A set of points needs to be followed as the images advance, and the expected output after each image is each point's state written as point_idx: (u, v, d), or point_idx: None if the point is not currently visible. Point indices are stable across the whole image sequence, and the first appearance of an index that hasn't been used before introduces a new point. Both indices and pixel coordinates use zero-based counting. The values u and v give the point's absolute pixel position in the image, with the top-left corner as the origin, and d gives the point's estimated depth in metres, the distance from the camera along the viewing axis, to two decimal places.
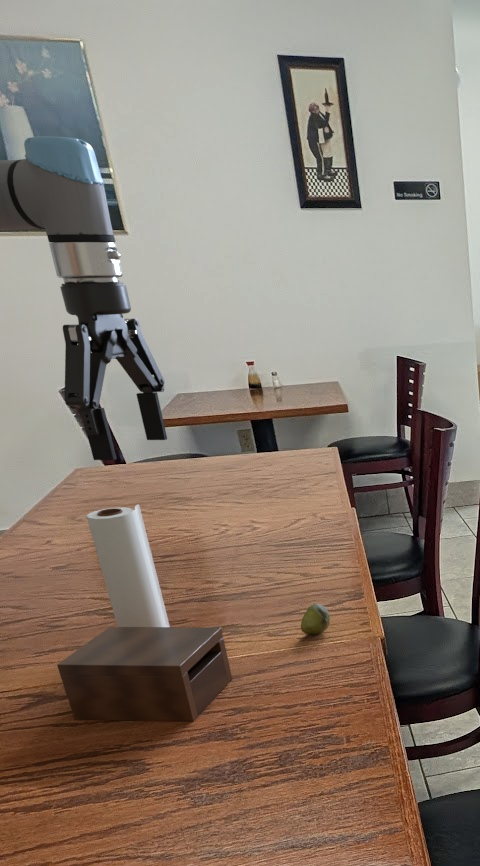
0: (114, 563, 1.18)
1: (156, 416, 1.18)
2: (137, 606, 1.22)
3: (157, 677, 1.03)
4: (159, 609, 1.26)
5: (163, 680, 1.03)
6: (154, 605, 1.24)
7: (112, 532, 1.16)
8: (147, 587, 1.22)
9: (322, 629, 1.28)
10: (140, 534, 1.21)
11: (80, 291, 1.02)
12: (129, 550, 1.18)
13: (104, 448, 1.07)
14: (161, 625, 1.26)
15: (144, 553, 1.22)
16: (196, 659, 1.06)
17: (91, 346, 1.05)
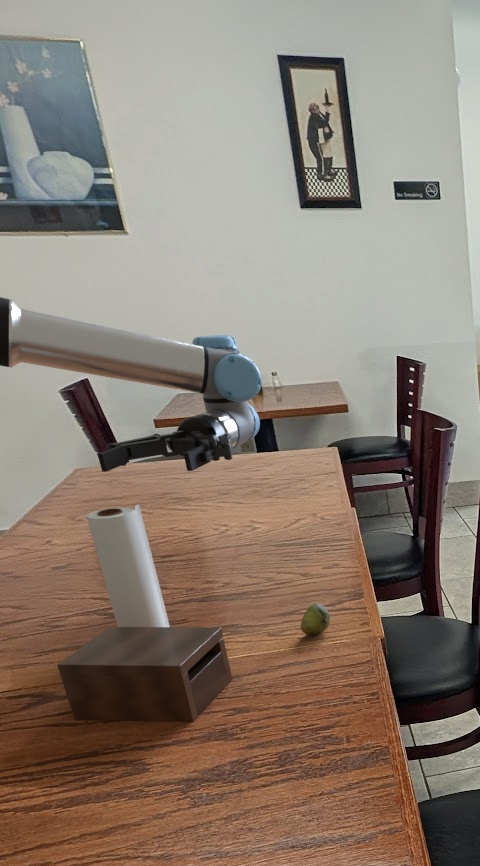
0: (114, 563, 1.18)
1: (117, 463, 1.29)
2: (137, 606, 1.22)
3: (157, 677, 1.03)
4: (159, 609, 1.26)
5: (163, 680, 1.03)
6: (154, 605, 1.24)
7: (112, 532, 1.16)
8: (147, 587, 1.22)
9: (322, 629, 1.28)
10: (140, 534, 1.21)
11: None
12: (129, 550, 1.18)
13: (195, 463, 1.26)
14: (161, 625, 1.26)
15: (144, 553, 1.22)
16: (196, 659, 1.06)
17: None
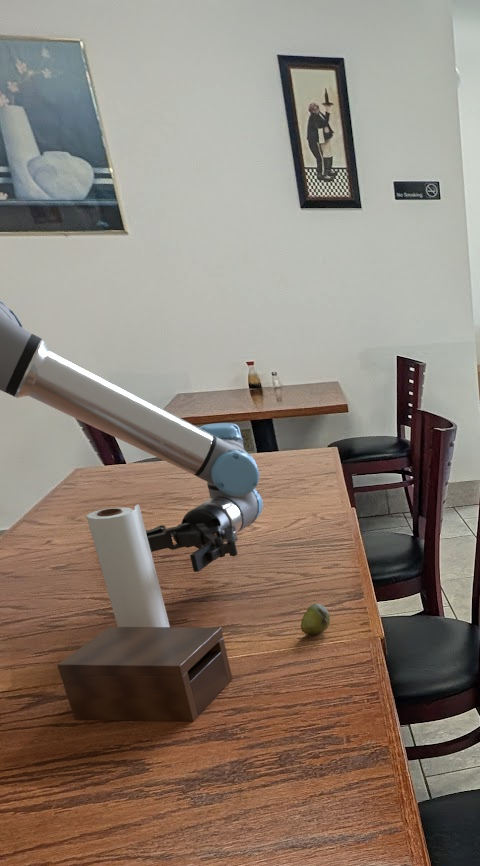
0: (114, 563, 1.18)
1: None
2: (137, 606, 1.22)
3: (157, 677, 1.03)
4: (159, 609, 1.26)
5: (163, 680, 1.03)
6: (154, 605, 1.24)
7: (112, 532, 1.16)
8: (147, 587, 1.22)
9: (322, 629, 1.28)
10: (140, 534, 1.21)
11: None
12: (129, 550, 1.18)
13: (201, 563, 1.29)
14: (161, 625, 1.26)
15: (144, 553, 1.22)
16: (196, 659, 1.06)
17: None
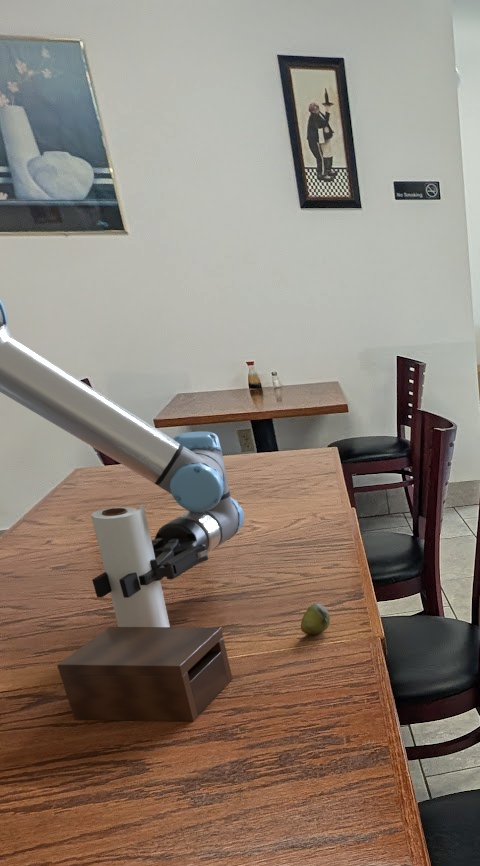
0: (117, 563, 1.18)
1: None
2: (138, 606, 1.21)
3: (157, 677, 1.03)
4: (160, 610, 1.26)
5: (163, 680, 1.03)
6: (155, 605, 1.24)
7: (116, 532, 1.16)
8: (149, 587, 1.22)
9: (322, 629, 1.28)
10: (144, 534, 1.21)
11: (206, 543, 1.37)
12: (133, 550, 1.18)
13: (132, 588, 1.19)
14: (162, 625, 1.26)
15: (147, 553, 1.22)
16: (196, 659, 1.06)
17: (183, 551, 1.31)
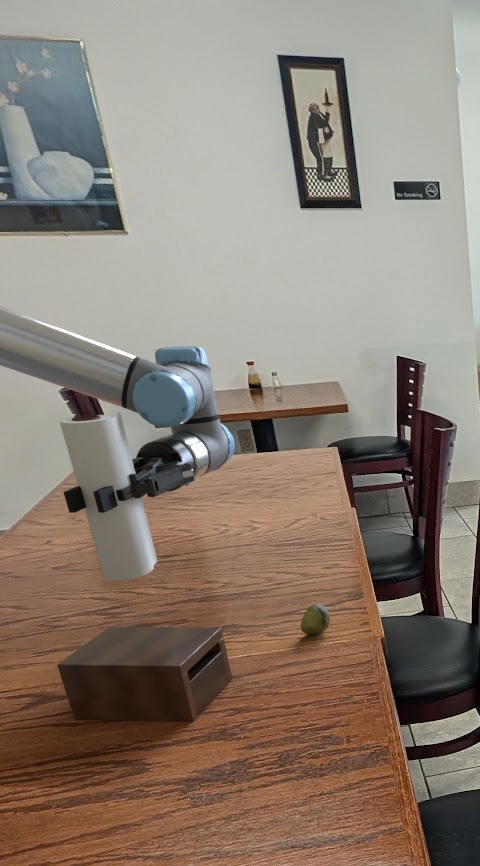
0: (91, 475, 1.05)
1: None
2: (117, 526, 1.09)
3: (157, 677, 1.03)
4: (142, 533, 1.13)
5: (163, 680, 1.03)
6: (136, 527, 1.11)
7: (88, 439, 1.03)
8: (129, 506, 1.09)
9: (322, 629, 1.28)
10: (121, 445, 1.08)
11: (193, 466, 1.24)
12: (107, 461, 1.05)
13: (108, 503, 1.06)
14: (145, 550, 1.13)
15: (125, 467, 1.09)
16: (196, 659, 1.06)
17: None
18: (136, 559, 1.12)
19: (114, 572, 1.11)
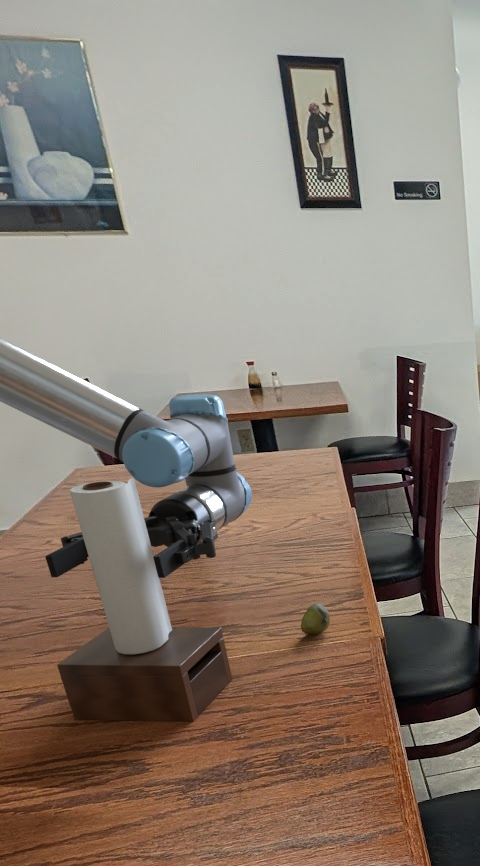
0: (102, 547, 0.99)
1: (72, 564, 1.04)
2: (130, 598, 1.02)
3: (157, 677, 1.03)
4: (157, 603, 1.06)
5: (163, 680, 1.03)
6: (150, 597, 1.05)
7: (100, 509, 0.97)
8: (142, 576, 1.03)
9: (322, 629, 1.28)
10: (134, 513, 1.01)
11: None
12: (120, 531, 0.99)
13: (168, 567, 1.01)
14: (160, 621, 1.07)
15: (139, 535, 1.02)
16: (196, 659, 1.06)
17: None
18: (150, 631, 1.05)
19: (126, 646, 1.04)
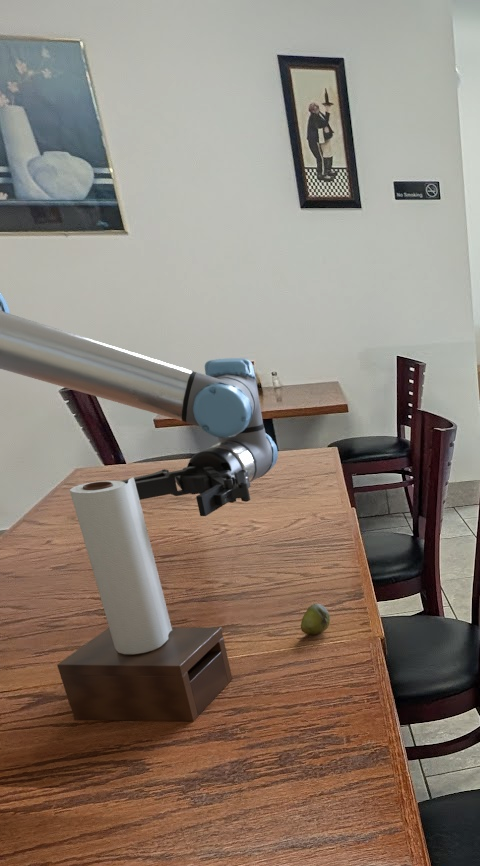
0: (102, 547, 0.99)
1: None
2: (130, 598, 1.02)
3: (157, 677, 1.03)
4: (157, 603, 1.06)
5: (163, 680, 1.03)
6: (150, 597, 1.05)
7: (100, 509, 0.97)
8: (142, 576, 1.03)
9: (322, 629, 1.28)
10: (134, 513, 1.01)
11: None
12: (120, 531, 0.99)
13: (209, 507, 1.12)
14: (160, 621, 1.07)
15: (139, 535, 1.02)
16: (196, 659, 1.06)
17: None
18: (150, 631, 1.05)
19: (126, 646, 1.04)
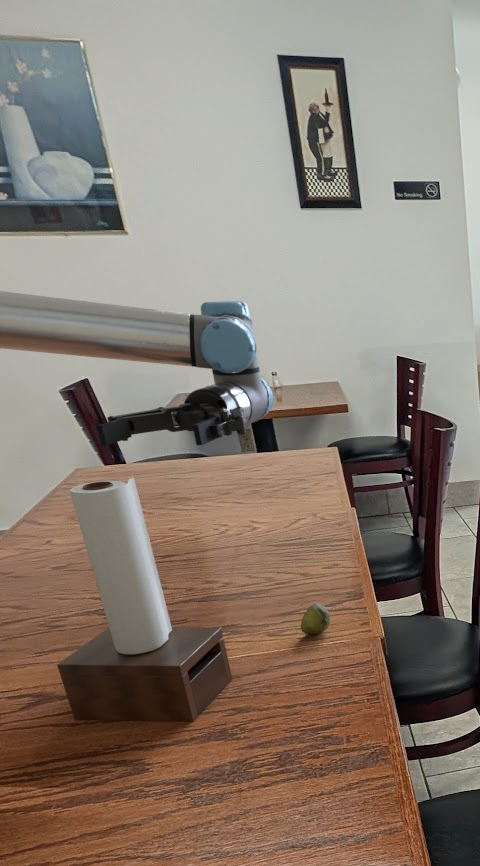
0: (102, 547, 0.99)
1: (119, 437, 1.16)
2: (130, 598, 1.02)
3: (157, 677, 1.03)
4: (157, 603, 1.06)
5: (163, 680, 1.03)
6: (150, 597, 1.05)
7: (100, 509, 0.97)
8: (142, 576, 1.03)
9: (322, 629, 1.28)
10: (134, 513, 1.01)
11: None
12: (120, 531, 0.99)
13: (205, 436, 1.14)
14: (160, 621, 1.07)
15: (139, 535, 1.02)
16: (196, 659, 1.06)
17: None
18: (150, 631, 1.05)
19: (126, 646, 1.04)
